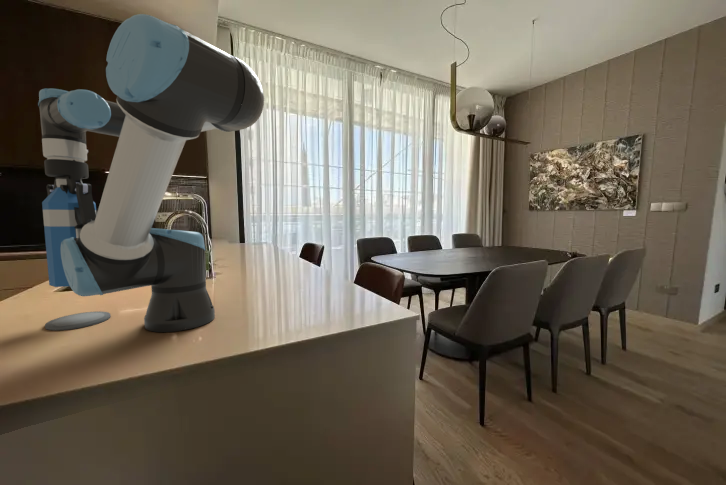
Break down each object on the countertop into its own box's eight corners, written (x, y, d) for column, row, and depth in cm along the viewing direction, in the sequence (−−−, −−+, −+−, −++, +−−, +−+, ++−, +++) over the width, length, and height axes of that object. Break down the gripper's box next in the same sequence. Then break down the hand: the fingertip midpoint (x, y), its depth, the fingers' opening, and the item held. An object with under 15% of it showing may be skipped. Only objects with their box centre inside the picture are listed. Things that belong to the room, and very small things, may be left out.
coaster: (121, 317, 80) (121, 314, 80) (62, 333, 69) (61, 330, 68) (93, 311, 84) (93, 308, 84) (34, 326, 73) (33, 323, 73)
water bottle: (110, 279, 80) (104, 181, 77) (73, 287, 70) (64, 177, 68) (78, 278, 81) (70, 181, 78) (37, 286, 71) (27, 177, 69)
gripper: (112, 160, 72) (118, 255, 74) (61, 165, 80) (68, 250, 82) (72, 154, 65) (81, 259, 67) (21, 160, 73) (29, 253, 75)
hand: (74, 254), depth 75 cm, fingers closed on water bottle, 9 cm apart
